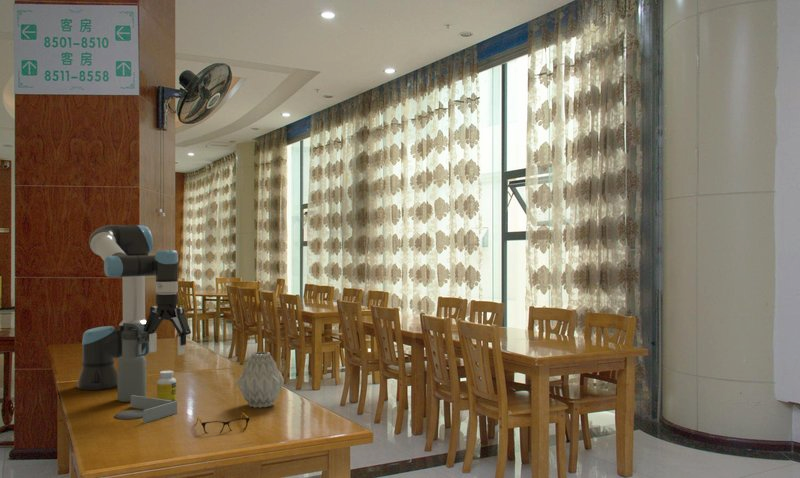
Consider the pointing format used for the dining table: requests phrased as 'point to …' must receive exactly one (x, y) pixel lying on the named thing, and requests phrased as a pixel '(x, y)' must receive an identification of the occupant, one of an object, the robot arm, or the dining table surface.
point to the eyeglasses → (224, 422)
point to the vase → (260, 380)
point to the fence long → (147, 402)
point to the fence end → (159, 412)
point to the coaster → (130, 414)
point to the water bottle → (132, 363)
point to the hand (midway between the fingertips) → (166, 353)
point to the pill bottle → (166, 386)
